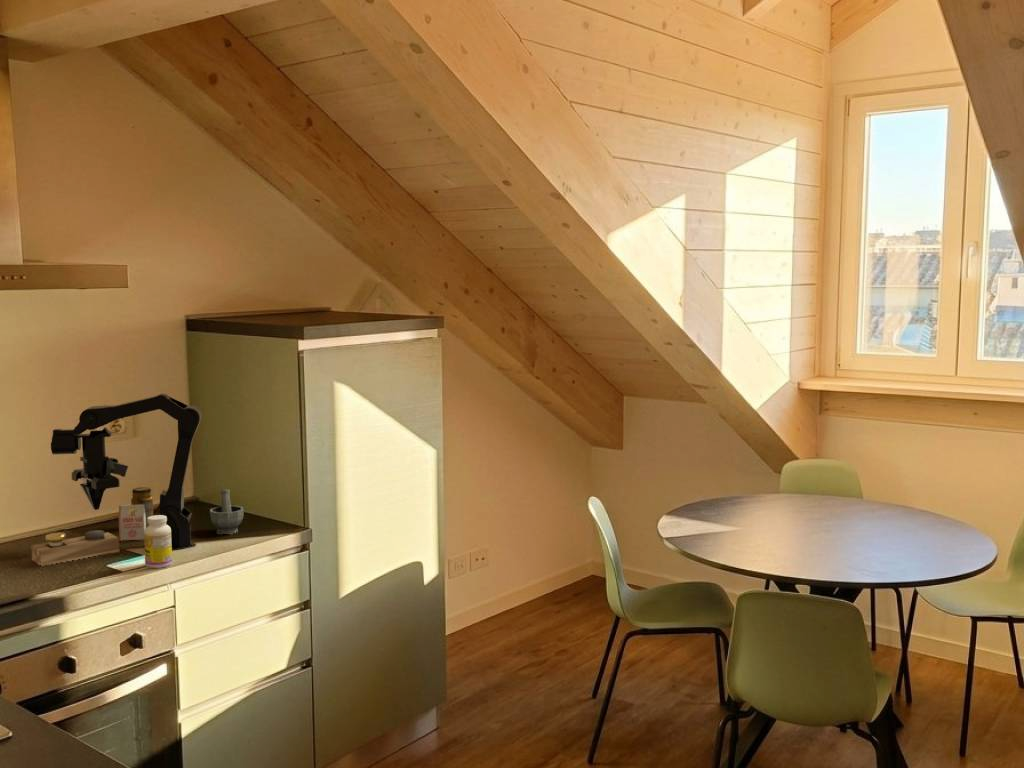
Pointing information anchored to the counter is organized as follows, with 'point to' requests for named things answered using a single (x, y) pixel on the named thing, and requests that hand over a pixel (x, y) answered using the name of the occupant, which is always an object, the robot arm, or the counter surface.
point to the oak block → (74, 549)
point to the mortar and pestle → (226, 515)
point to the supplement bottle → (157, 542)
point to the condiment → (143, 500)
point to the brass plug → (55, 539)
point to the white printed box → (132, 522)
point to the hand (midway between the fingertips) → (96, 509)
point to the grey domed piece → (94, 535)
